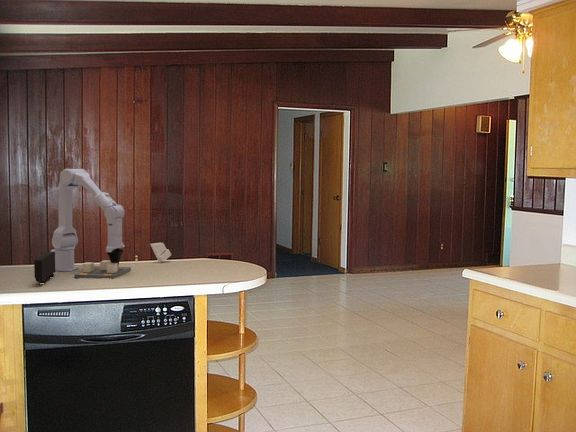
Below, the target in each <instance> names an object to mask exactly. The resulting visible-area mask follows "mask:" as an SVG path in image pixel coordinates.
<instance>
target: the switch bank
mask: <svg viewBox="0 0 576 432" xmlns="http://www.w3.org/2000/svg"><path fill="white" fill-rule="evenodd" d="M130 271H132V268H131V266H118V272H116V273H107V270H100V265H99V266H98V265H94V271H92V272H90V273H89V272H83V270H82V271H79V272H77V273H75V274H74V279H102V278H109V279H110V278H111V279H112V280H114V278H115V279H117V278H119V277H120V276H123V275H125V274H127V273H129V272H130ZM116 277H117V278H116ZM111 279H110V280H111Z"/></svg>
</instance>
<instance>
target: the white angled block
mask: <svg viewBox="0 0 576 432" xmlns="http://www.w3.org/2000/svg"><path fill="white" fill-rule="evenodd" d="M149 244H150V247H151V249H152V251H153V253H154V256H155V258H156V259H157V261H158V262H162V263H164V262H165V261H166V260H168V259H169V258H170V257H171V256H172V253H171V251H170V249H167V247H166V245H165V243H164V242H155V243H149Z"/></svg>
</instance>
